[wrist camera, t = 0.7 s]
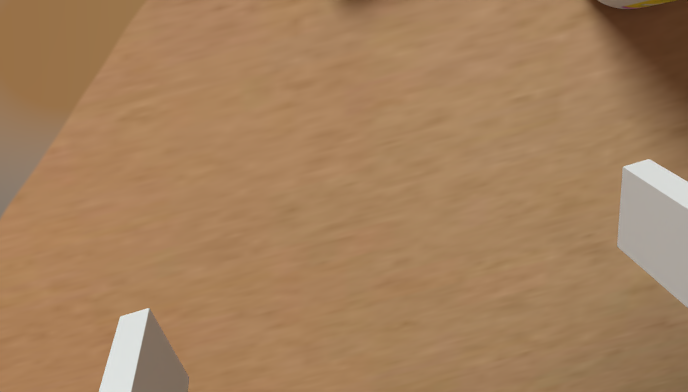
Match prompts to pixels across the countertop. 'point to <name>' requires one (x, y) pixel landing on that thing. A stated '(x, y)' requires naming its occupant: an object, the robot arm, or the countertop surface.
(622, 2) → the supplement bottle
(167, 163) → the countertop surface
